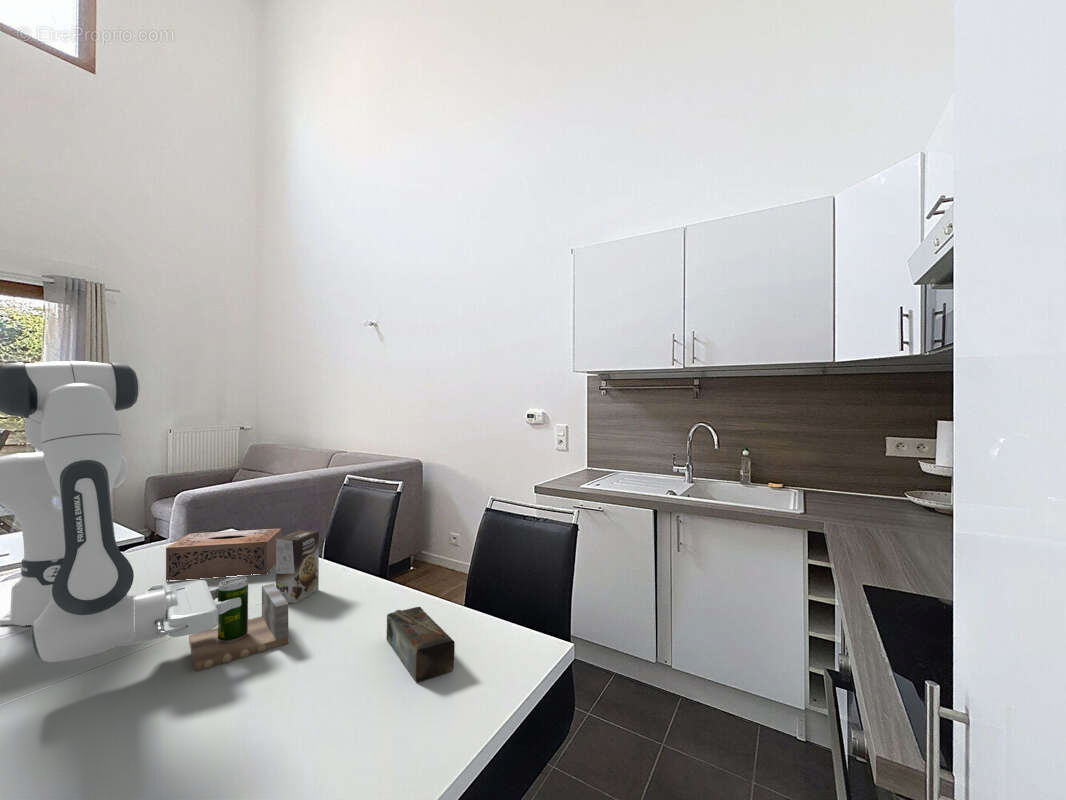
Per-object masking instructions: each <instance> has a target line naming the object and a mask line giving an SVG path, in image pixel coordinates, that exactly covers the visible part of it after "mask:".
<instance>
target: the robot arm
mask: <svg viewBox="0 0 1066 800" xmlns="http://www.w3.org/2000/svg"><path fill="white" fill-rule="evenodd" d="M140 392H141V383H140V380H139V377H138V376H137V373H136V371H135V370H134V369H133V368H132V367H130V366H129V365H128V364H124V363H117V362H111V361H110V362H109V363H105V362H99V361H98V362H96V361H84V360H68V361H43V362H41V361H39V362H29V363H27V362H26V363H24V362H23V361H20V362H18V361H17V362H10V363H5V364H4V363H3V364H1V365H0V412H1V413H3V414H5V415H6V416H11V417H19V418H20V417H21V418H23V419H24V437H25V439H26V441H27V442H28V443H29V444H30V445H31V447H33V448H34V449H36V450H38V451H35V452H31V451H30V452H18V453H13V454H7V455H6V454H5V455H2V456H1V455H0V506H2V507H3V508H5V509H6V510H8V511H10V513H11V514H12V515H13V516H14V517H15V518H16V519H17V521H18V523H19V525H20V528H21V532H22V538H23V539H22V540H23V558H22V559H21V564H20V575H21V576H22V577H21V578H20V579H19V580H18V581H17V582H15V583H14V585H12V587H11V593H10V611H8V612H7V613H6V614H5V615H4V616H2V617H1V618H0V626H4V625H8V626H9V625H15V626H21V627H29V626H28V625H32V626H31V641H32V646H33V649H34V652H35V654H36V656H37V658H39V659H40V660H42V661H44V662H47V663H59V662H67V661H72V660H77V659H82V658H86V657H90V656H91V657H92V656H94V655H97V654H99V655H100V654H103V653H105V652H107V651H109V650H111V649H115V648H116V647H121V646H123V647H124V646H134V645H137V644H142V643H146V642H149V641H153V640H156V639H161V638H165V637H166V636H167V635H168V636H169V637H172V638H177V637H184V636H189V635H192V634H196V633H200V632H204V631H208V630H211V629H215V628H217V627H218V615H219V614H223V613H224V612H226V611H228V610H230V609H232V608H236V607H240V606H241V598H240V596H236V597H231V598H230V599H229V600H226V601H223V602H221V601H219V602H218V601H216V602H215V600H216V599H218V587H211V588H210V587H209V584H208V582H207V580H206V579H203V580H189V581H180V582H174V583H171V584H168V585H165V584H163V583H160V584H154V585H152V586H150V587H149V588H148V589H147V590H146V591H144V592H142V593H138V594H132V595H128V593H129V592H130V590H131V588H132V586H133V582H134V577H135V576H134V569H133V567H132V564H131V563H130V561H129V559H128V558H127V557H126V556H125V555H124V554H123V553H122V552H121V550H120V549H119V547H118V544H117V541H116V536H115V527H114V517H113V506H112V493H113V489H115V488H118V487H119V486H121V484H123V483H124V481H125V480H126V478H127V476H128V473H129V463H128V460H127V459H126V457H125V456H124V455H123V442H122V441H123V440H122V434H121V433H122V432H121V426H120V421H119V417H118V413H117V412H118V411H119V412H120V411H124V410H128V409H130V408H132V407H133V406H134V405H135V404H137V401H138V397H139V396H140ZM58 497H59V500H60V503H61V507H60V506H57V505H56V504H54V502H53V500H54V499H55V498H58ZM26 625H27V626H26Z"/></svg>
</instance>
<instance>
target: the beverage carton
mask: <svg viewBox="0 0 1066 800" xmlns="http://www.w3.org/2000/svg"><path fill="white" fill-rule="evenodd" d="M385 638H386V641H387V643H388V644H389V645H390V646H391V648H392V650H393V651H394V653H395V654H396V656H397V657H398V659H399V660H400V662H401V663H402V664H403V665H404V667H405V668H406V670H407V671H408V673H409V674H410V675H411V677H412V678H413V680H414V681H415V682H416V683H418V682H422V681H425V680H428V679H433V678H434V677H439V676H441V675H445V674H447V673H451V672H454V667H455V647H456V645H455V640H453V639H452V638H451V636H450V635H449V634H448V633H447V632H446V631H444V629H443V628H442V627H440V625H439V624H437V623H436V621H435V620H433V618H432V617H431V616H430V615H428V613H427V612H426V611H425V610H424V609H423V608H422V607H421V606H414V607H411V608H406V609H402V610H401V609H397V610H394V612H389V613H387V614H386V637H385Z"/></svg>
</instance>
